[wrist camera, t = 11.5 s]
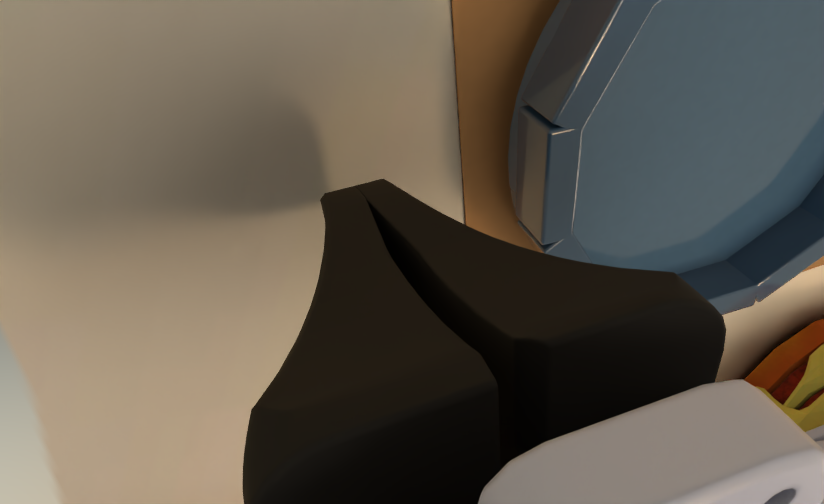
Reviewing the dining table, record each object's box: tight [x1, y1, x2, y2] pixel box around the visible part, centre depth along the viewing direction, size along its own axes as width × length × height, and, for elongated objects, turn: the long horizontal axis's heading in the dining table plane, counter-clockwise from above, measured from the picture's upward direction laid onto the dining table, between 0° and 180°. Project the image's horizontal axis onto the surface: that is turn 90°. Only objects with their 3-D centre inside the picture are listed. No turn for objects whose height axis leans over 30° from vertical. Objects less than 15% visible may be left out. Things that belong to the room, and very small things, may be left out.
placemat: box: [451, 0, 824, 272], centre depth 16 cm, size 14×16×1 cm
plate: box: [508, 0, 824, 315], centre depth 15 cm, size 11×11×2 cm
